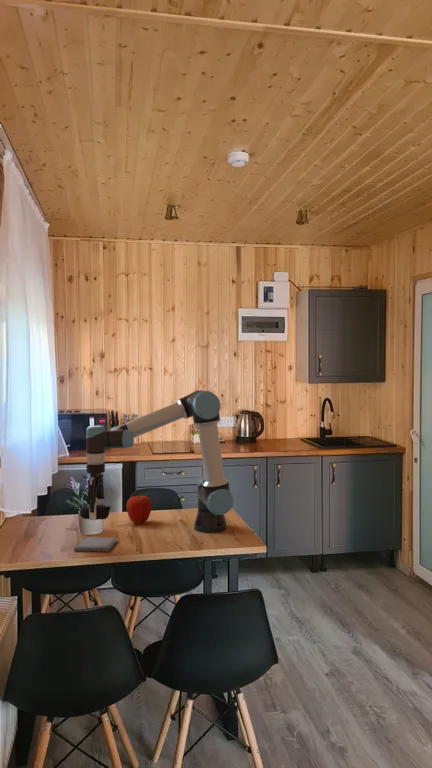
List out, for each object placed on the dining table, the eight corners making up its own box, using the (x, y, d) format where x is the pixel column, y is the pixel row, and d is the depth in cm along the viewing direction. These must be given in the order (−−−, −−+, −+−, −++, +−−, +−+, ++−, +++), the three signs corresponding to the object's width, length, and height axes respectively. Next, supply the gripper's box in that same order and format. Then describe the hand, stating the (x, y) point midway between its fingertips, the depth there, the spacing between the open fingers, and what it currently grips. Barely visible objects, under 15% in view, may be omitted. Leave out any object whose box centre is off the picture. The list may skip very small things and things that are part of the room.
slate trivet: (117, 541, 240) (117, 537, 240) (108, 551, 226) (108, 547, 226) (85, 540, 241) (85, 536, 241) (74, 551, 227) (74, 547, 227)
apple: (145, 518, 277) (145, 490, 277) (156, 524, 267) (156, 494, 267) (122, 522, 271) (122, 493, 270) (132, 528, 260) (131, 498, 260)
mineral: (92, 522, 226) (92, 508, 226) (78, 519, 231) (78, 505, 231) (111, 517, 234) (111, 503, 234) (97, 514, 239) (97, 501, 239)
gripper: (94, 458, 244) (94, 510, 244) (78, 467, 223) (78, 523, 223) (111, 459, 243) (111, 511, 244) (96, 467, 222) (97, 524, 223)
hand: (96, 517), depth 234 cm, fingers closed on mineral, 8 cm apart
